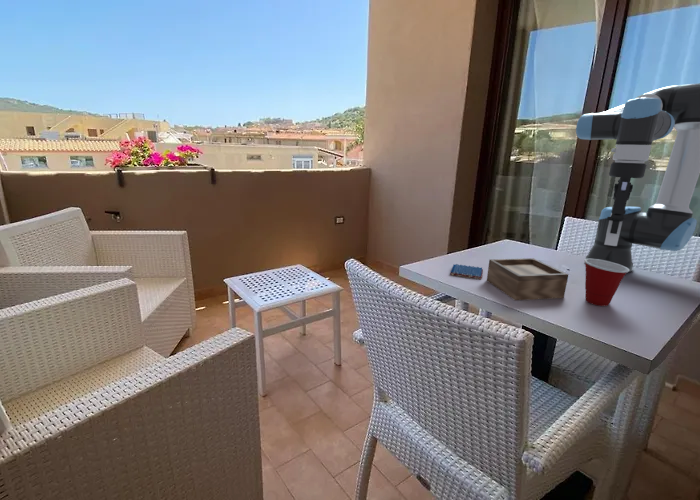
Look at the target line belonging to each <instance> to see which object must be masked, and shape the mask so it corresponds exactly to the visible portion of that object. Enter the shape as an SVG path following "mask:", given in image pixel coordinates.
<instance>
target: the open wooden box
mask: <svg viewBox="0 0 700 500" xmlns="http://www.w3.org/2000/svg"><path fill="white" fill-rule="evenodd" d="M487 269H488V270H487V275H486V282H488V283H489V284H490V285H492V286H493V287H495V288H496V289H498V290H500V291H501V292H502V293H503V294H505V295H506V296H508V297H510V299H512V300H514V301H530V300H531V301H532V300H550V299H553V300H554V299H565V293H566V289H567V283H568V278H569V274H568V273H566V272H564V271H562V270H560V269H557V268H556V267H553V266H552V265H549V264H547V263H546V262H542V261H540V260H538V259H536V258H534V257H530V258H528V257H527V258H525V257H524V258H498V259H490V258H489V259H488V268H487Z"/></svg>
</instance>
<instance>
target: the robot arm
mask: <svg viewBox="0 0 700 500" xmlns="http://www.w3.org/2000/svg"><path fill="white" fill-rule="evenodd" d="M673 129H674V130H676V132H677V134H676V135H675V139H674V143H673V146H672V148H671V149H672V150H671V153H670V156H669V158H668V159H669V160H668V163H667V166H666V168H665V172H664V175H663V179H662V182H661V185H660V188H659V192H658V194H657V195H658V196H657V198H656V202H655V203H654V204H652V205H651V206H649V207H648V208H647V212H645V211H642V207H640V206H629V205H628V206H627V202H628V201H629V200H630V196H631V193H632V192H633V188H634V187H633V186H634V184H632V182H631V181H632V179H642V178H644V177H645V173H646V169H647V164H646V163H645V162H648V161H649V159H650V153H651V150H652V143H653V141H657V140H660V139H663V138H666V137H667V136H669V135H670V134H671V132H672V131H673ZM575 133H576V136H577V138H578V139H580V140H588V141H591V140H592V141H593V140H596V141H597V140H598V141H599V140H615V141H616V142H615V147H614V148H613V147H612V148H611V150H610V151H611V153H613V154H612V155H613V156H612V160H613V161H614V162H612V163H610V167H609V172H608V176H609V177H612V178H618V180H617V182H618V183H615V184H614V187H613V191H614V192H613V197H612V200H613V205H612V206H607V207H604V208H603V209H601V212H600V215H599V218H598V222H597V228H596V233H595V236H594V242H593V245H592V247H591V248H590V251H589V252H588V254H587V255H586V256H585V257H584V258H585V259H599V260H605V261H609V262H613V263H617V264H620V265H622V266H625V267H627V268H628V269H629V270H630V271H629V272H628V273H630V272H632V271H633V269H634V263H633V258H632V256H633V255H632V249H633V248H632V246H633V245H638V246H643V247H649V248H653V249H659V250H661V251H662V250H663V251H671V252H679V251H681V250H682V249H684V248H685V247H686V245H687V244H688V243H689V241H690V240H691V238H692V237H693V235H694V233H695V230H696V226H697V224H698V220H697V219H696V218H694V217H693V214H694V212H693V210H692V209H690V203H691V200H692V199H693V196H694V195H693V194H694V192H695V188H696V185H697V182H698V180H699V177H700V82H699V83H687V84H686V83H685V84H678V85H677V84H676V85H669V86H665V87H661V88H658V89H654V90H651V91H649V92H645V93H643V94H640V95H638V96H637V97H635V98H632V99H628V100H627V101H626V102H625V103H624V104H621V105H619V106H615V107H614V108H610V109H608V110H606V111H605V110H604V111H601V112H595V113H594V112H591V113H584V114H582V115H580V117H579V118H578V120H577V123H576V128H575ZM585 259H584V260H585Z"/></svg>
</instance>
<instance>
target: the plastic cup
mask: <svg viewBox="0 0 700 500" xmlns="http://www.w3.org/2000/svg"><path fill="white" fill-rule="evenodd" d="M584 264H585V283H584V285H585V286H584V287H585V301H586V302H587V303H589V304H591V305H593V306H600V307H607V306H609V305H610V303H611V302H612V300H613V297H614V296H615V294H616V292H617V290H618V288H619V286H620V284H621V281H622V280H623V278H624V277H625V276H626V274H627V273H630V272H629V271H630V270H629V269H628V268H627V267H625V266H622V265H620V264H617V263H613V262H609V261H605V260H599V259H584Z"/></svg>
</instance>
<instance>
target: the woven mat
mask: <svg viewBox="0 0 700 500" xmlns="http://www.w3.org/2000/svg"><path fill="white" fill-rule="evenodd" d="M483 271H484V268H483V267H480V266H472V265H466V264H458V263H456V264H455V263H454V264H453V265H452V268H451V270H450V274H449V275H450V276H453V277H454V276H455V277H458V278H460V277H462V278H465V279H474V278H475V280H481V279H482V278H483Z"/></svg>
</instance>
